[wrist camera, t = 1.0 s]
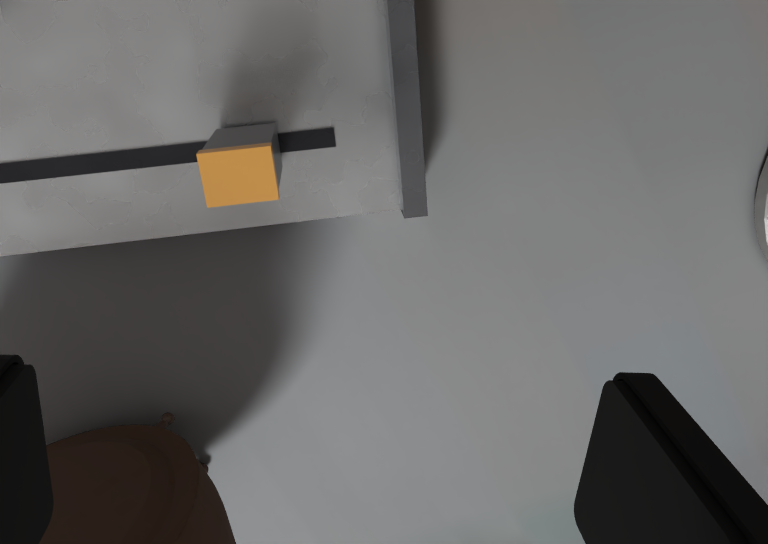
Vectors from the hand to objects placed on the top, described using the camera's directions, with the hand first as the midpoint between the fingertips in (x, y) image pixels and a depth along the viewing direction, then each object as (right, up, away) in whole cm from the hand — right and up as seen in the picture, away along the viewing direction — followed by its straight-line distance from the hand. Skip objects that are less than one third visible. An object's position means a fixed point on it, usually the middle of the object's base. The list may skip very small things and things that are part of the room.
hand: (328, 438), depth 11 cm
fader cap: (-5, +8, +16) cm, 18 cm away
